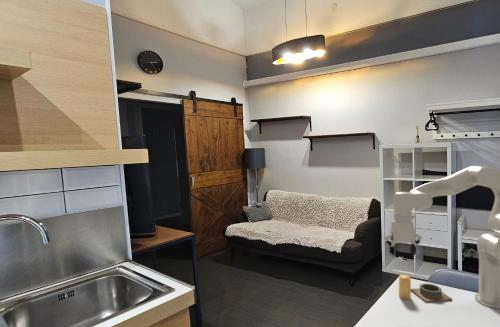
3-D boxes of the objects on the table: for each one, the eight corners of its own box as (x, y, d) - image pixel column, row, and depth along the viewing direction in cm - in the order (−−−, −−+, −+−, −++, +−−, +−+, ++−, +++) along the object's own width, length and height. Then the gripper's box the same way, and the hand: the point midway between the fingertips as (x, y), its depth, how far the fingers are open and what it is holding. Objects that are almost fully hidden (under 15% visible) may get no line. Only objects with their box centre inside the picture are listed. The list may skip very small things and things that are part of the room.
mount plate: (434, 288, 157) (434, 281, 157) (452, 300, 145) (452, 292, 145) (410, 290, 156) (410, 283, 156) (425, 302, 144) (425, 294, 144)
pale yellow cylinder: (406, 294, 152) (406, 274, 151) (412, 299, 147) (412, 278, 146) (397, 295, 152) (396, 275, 151) (402, 300, 147) (402, 279, 146)
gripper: (417, 216, 149) (417, 251, 150) (381, 216, 149) (381, 251, 150) (425, 219, 141) (425, 256, 142) (387, 220, 142) (387, 257, 143)
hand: (402, 254), depth 146 cm, fingers open, 9 cm apart
